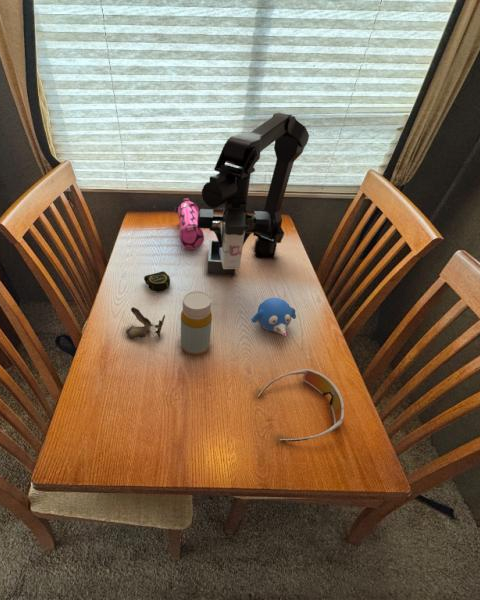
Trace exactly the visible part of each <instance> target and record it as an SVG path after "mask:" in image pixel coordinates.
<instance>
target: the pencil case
mask: <svg viewBox="0 0 480 600" xmlns="http://www.w3.org/2000/svg"><path fill="white" fill-rule="evenodd" d="M182 200H183V202H182V203H181V204H180V205H179V206H178V207H177V206H174V207H173V208H174V209H173V213H177V218H178V221H179V222H178V224H179V240H180V244H181V245H182V247H183V248H185V249H187V250H195V249H197V248H200V247H201V246H202V245H203V243H204V241H205V233H204V231H203V228H198V227H197V225H198V211H199V210H200V209H199V207H198V205H197V204H196V203H195V202H192V201H190V199H189V198H183V199H182Z"/></svg>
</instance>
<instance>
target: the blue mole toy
mask: <svg viewBox="0 0 480 600" xmlns="http://www.w3.org/2000/svg"><path fill="white" fill-rule="evenodd" d="M292 319H293V320H295V319H297V314H296V309H295V308H294V307H291V306H290V304H289V303H288V302H287V301H286V300H285V299H283V298H280V297H269V298H266V299H264V300H263V301H262V302H261V303H260V304H259V306H258V308H257V311H256V314H255V315H254V316H253V317H252V318H251V322H252V323H253V324H256V323H257V322H259V324H260V326H261V327H262V328H263V329H265V330H266V331H270V332H274V333H278V334H281V335H282V336H283V337H284V338H286V337H287V336H288V334H287V330H286V328H288V326H290V324H291V322H292Z"/></svg>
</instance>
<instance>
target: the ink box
mask: <svg viewBox="0 0 480 600" xmlns="http://www.w3.org/2000/svg"><path fill="white" fill-rule="evenodd" d="M244 234H245V231H244ZM244 234H243V235H227V234H225V223H221V236H222V247H221V248H219V254H220V258H221V262H222V266H223V269H235V270H238V269H240V268H241V262H242V261H241V260H242V254H243V253H242V252H243V248H244V245H243V241H244Z"/></svg>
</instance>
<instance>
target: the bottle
mask: <svg viewBox="0 0 480 600" xmlns="http://www.w3.org/2000/svg"><path fill="white" fill-rule="evenodd" d="M211 309H212V298H211V296H210V295H209V294H208V293H207V292H205V291H201V290H192V291H189V292H187V293H186V294H184V296H183V298H182V311H181V312H180V346H181V349H182V350H183V352H185V353H186V354H189V355H192V356H199V355H203V354H204V353H206V352H207V351H208V350H209V348H210V344H211V333H212V321H213V320H212V318H213V314H212V311H211Z"/></svg>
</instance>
